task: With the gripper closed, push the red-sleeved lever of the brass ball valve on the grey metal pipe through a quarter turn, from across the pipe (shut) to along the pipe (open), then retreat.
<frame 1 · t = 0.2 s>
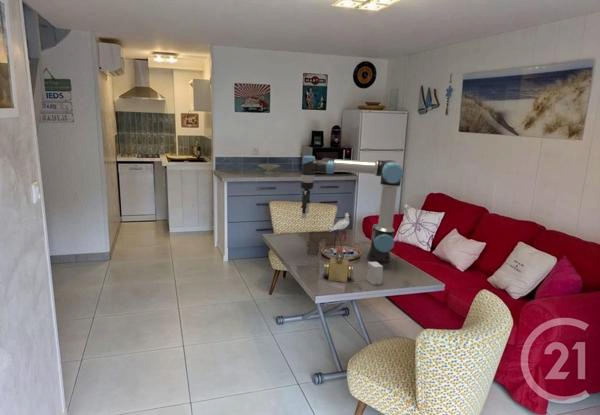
hand: (305, 215, 254), 28 cm above the table, fingers open, 13 cm apart
pipe: (337, 278, 232), resting on valve body
small box: (373, 282, 231), on the table
lever: (339, 253, 235), point 13 cm above the table, hinge at 0.0°
valve body: (337, 278, 232), on the table
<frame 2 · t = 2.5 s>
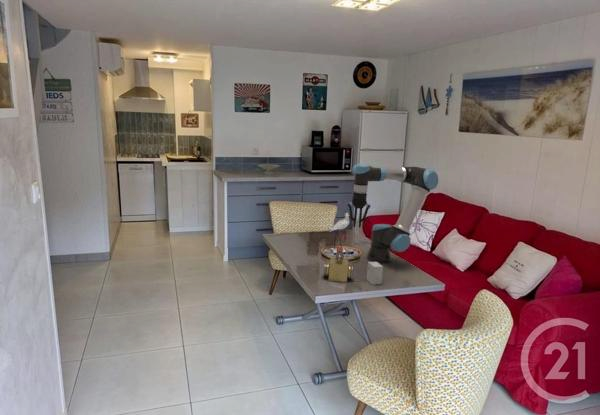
hand: (356, 232, 237), 24 cm above the table, fingers closed
nothing on the table moved.
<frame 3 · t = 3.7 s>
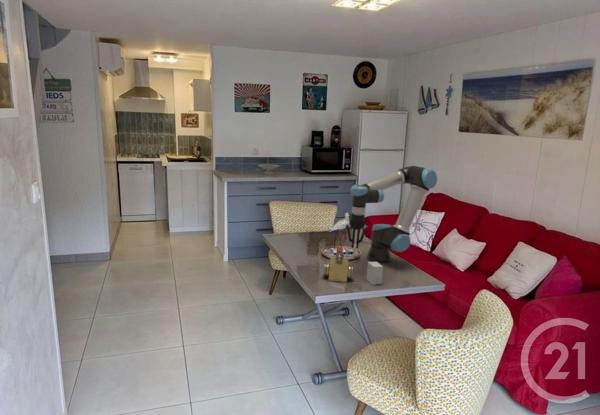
hand: (354, 253, 240), 12 cm above the table, fingers closed
nothing on the table moved.
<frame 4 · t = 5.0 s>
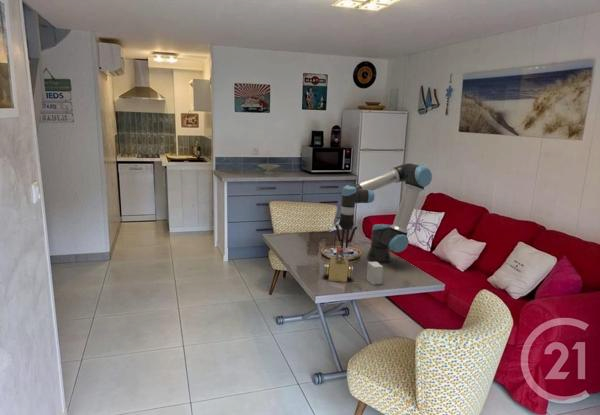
hand: (343, 253, 240), 12 cm above the table, fingers closed
lever: (339, 253, 235), point 13 cm above the table, hinge at 0.0°, touching gripper
everything else where it was.
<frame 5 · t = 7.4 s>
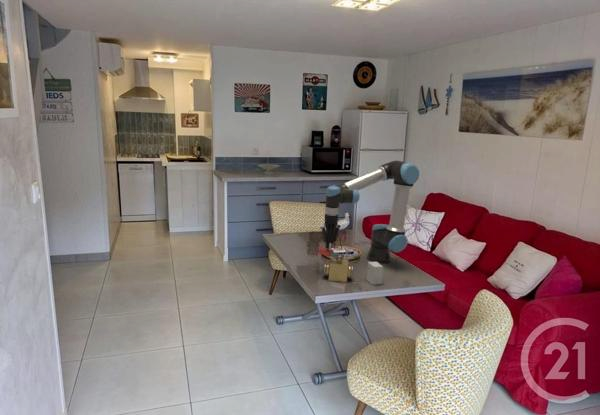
hand: (328, 253, 239), 11 cm above the table, fingers closed
lever: (331, 253, 234), point 13 cm above the table, hinge at 51.6°, touching gripper
everything else where it was.
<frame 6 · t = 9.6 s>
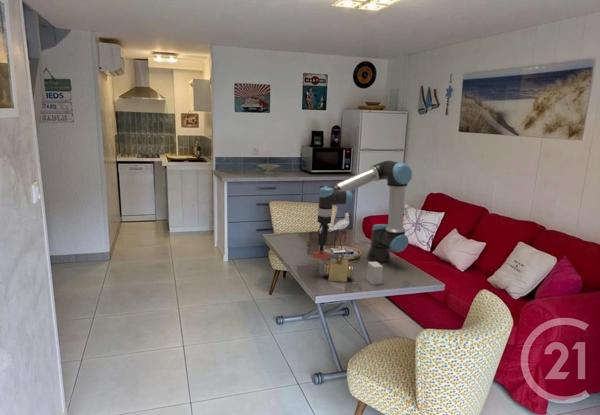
hand: (321, 256, 233), 11 cm above the table, fingers closed
lever: (328, 255, 230), point 13 cm above the table, hinge at 89.7°
everything else where it was.
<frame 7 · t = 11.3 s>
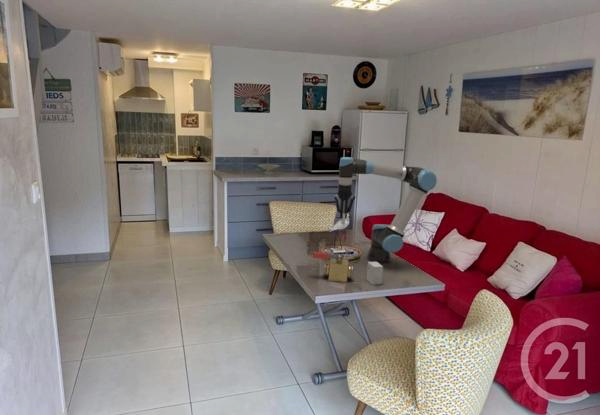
hand: (342, 223, 244), 27 cm above the table, fingers closed
nothing on the table moved.
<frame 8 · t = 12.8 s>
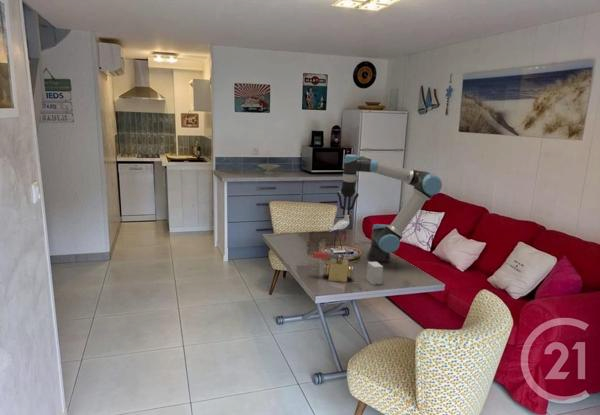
hand: (345, 220, 247), 28 cm above the table, fingers closed
nothing on the table moved.
at the end: lever at +90° (first picture: +0°); lever touching nothing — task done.
